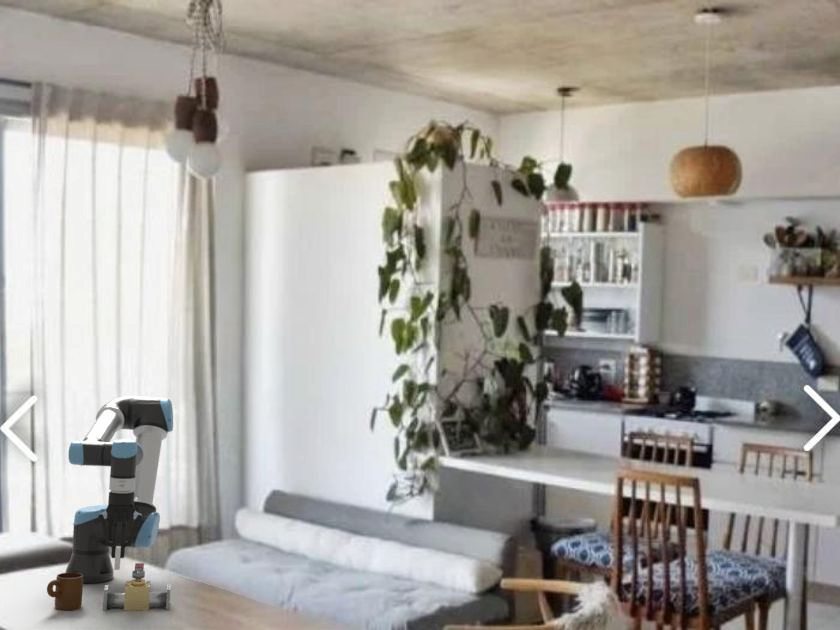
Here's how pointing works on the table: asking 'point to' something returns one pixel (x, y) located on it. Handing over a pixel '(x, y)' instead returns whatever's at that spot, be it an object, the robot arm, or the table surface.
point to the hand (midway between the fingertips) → (117, 568)
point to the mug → (67, 591)
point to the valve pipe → (136, 597)
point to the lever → (138, 571)
